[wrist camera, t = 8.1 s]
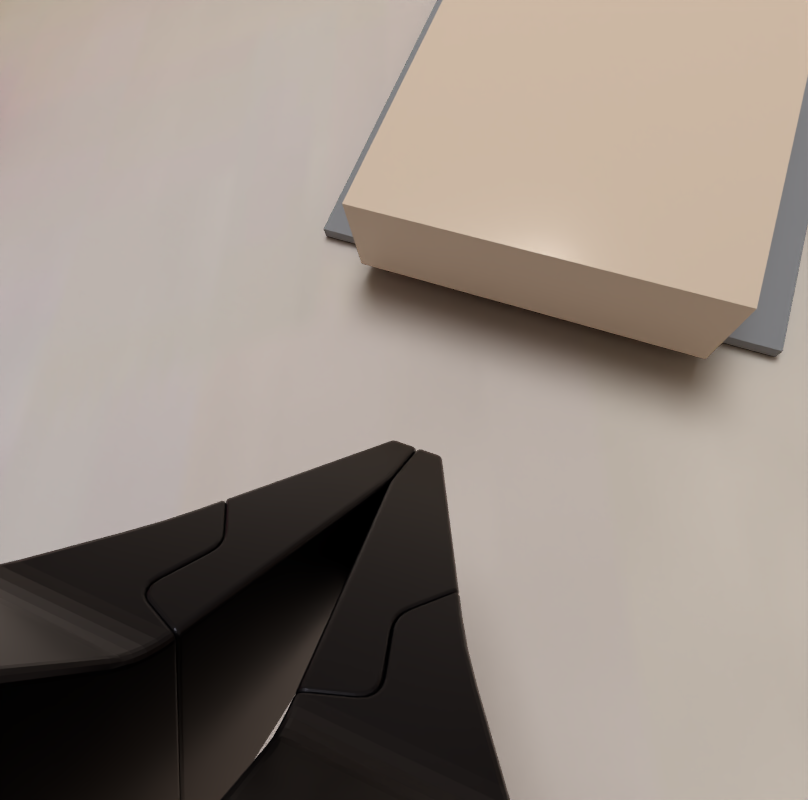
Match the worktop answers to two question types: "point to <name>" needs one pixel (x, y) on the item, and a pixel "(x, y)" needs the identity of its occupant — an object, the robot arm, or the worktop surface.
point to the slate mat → (799, 207)
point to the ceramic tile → (592, 160)
